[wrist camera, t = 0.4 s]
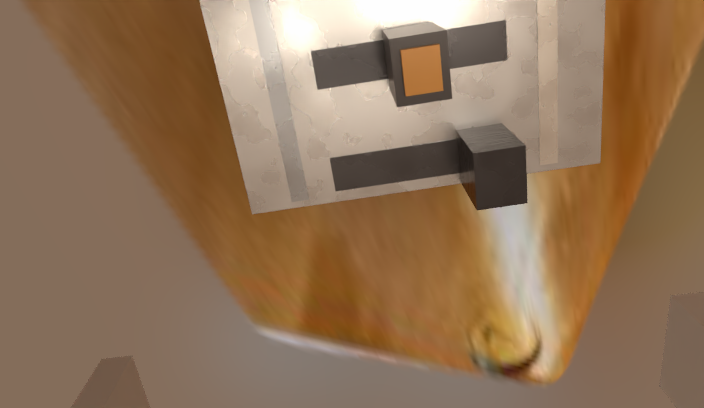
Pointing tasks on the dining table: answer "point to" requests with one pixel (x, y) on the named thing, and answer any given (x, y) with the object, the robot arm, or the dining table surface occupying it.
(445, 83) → the toggle
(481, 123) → the breaker panel
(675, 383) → the robot arm
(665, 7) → the dining table surface
